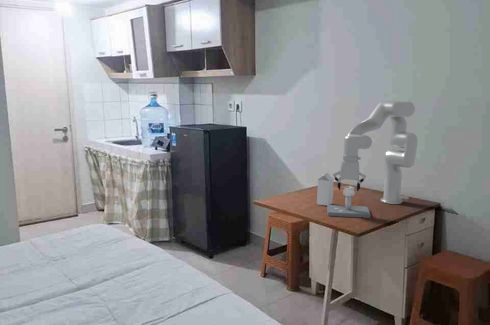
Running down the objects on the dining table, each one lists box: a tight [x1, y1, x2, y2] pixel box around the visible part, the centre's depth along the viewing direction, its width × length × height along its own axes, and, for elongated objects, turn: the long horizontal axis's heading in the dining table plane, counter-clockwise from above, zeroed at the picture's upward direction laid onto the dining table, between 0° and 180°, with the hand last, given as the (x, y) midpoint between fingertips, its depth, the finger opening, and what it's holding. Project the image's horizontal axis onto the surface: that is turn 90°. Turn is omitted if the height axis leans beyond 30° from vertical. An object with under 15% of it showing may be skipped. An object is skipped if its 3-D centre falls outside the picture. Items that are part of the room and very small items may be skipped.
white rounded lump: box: [342, 185, 356, 197], centre depth 232 cm, size 6×6×5 cm
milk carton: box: [316, 171, 335, 207], centre depth 250 cm, size 7×7×19 cm
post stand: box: [326, 195, 372, 219], centre depth 233 cm, size 22×15×10 cm
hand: (348, 190), depth 231 cm, fingers open, 9 cm apart
